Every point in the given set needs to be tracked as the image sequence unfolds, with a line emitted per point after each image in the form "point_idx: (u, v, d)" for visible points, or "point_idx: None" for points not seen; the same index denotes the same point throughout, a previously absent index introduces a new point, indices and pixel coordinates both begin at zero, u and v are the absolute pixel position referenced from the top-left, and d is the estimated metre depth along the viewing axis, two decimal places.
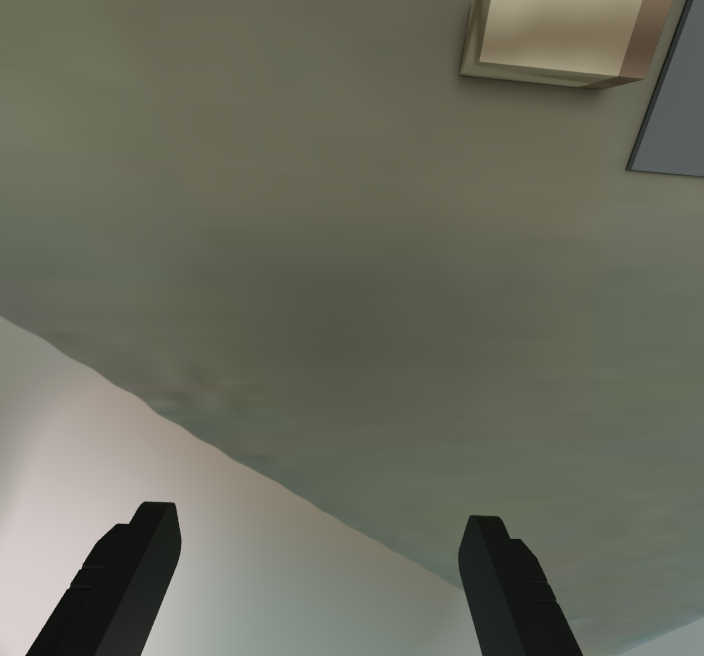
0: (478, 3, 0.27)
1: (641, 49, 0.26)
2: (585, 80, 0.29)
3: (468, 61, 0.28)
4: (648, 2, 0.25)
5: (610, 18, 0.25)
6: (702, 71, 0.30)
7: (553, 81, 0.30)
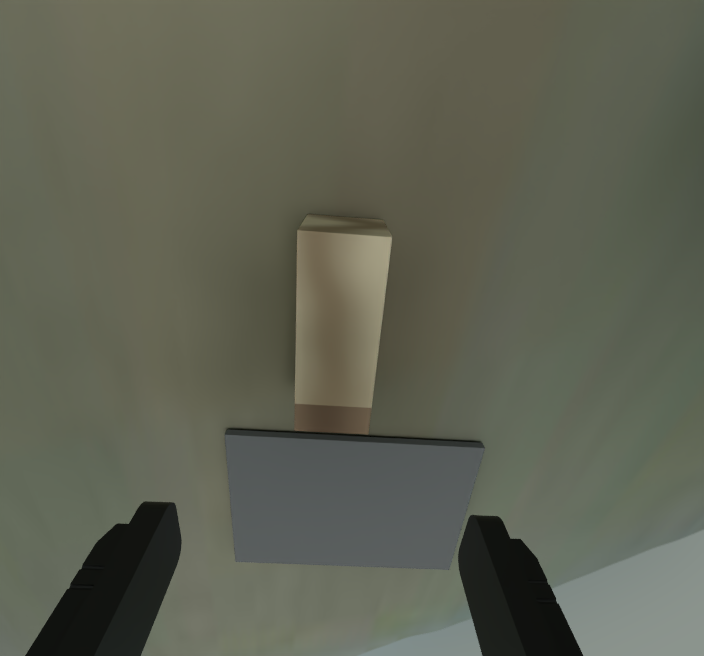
0: (377, 225, 0.21)
1: (322, 419, 0.23)
2: None
3: (313, 220, 0.20)
4: (364, 413, 0.22)
5: (350, 380, 0.21)
6: (322, 467, 0.30)
7: None
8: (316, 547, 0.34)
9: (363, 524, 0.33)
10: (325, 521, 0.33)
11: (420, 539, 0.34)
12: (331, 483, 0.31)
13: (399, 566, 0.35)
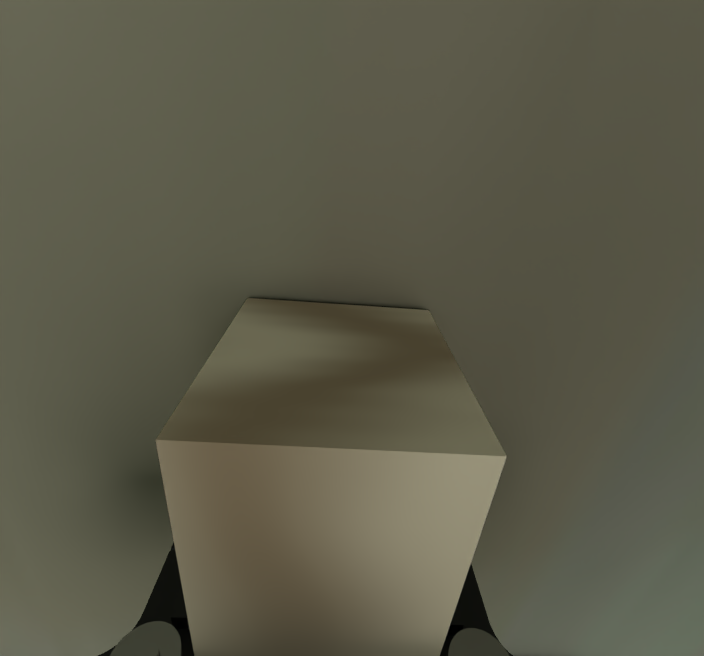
0: (424, 348, 0.08)
1: None
2: None
3: (249, 338, 0.07)
4: None
5: None
6: None
7: None
8: None
9: None
10: None
11: None
12: None
13: None
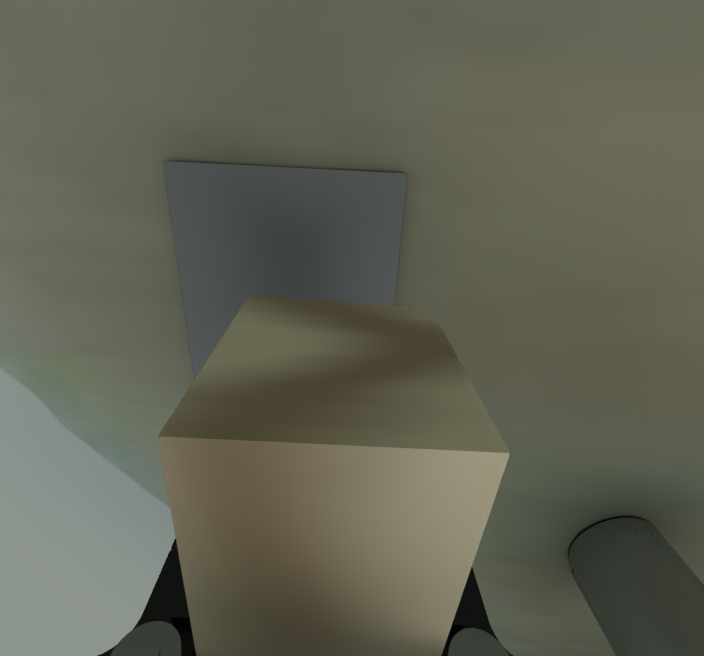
0: (426, 345, 0.08)
1: None
2: None
3: (251, 336, 0.07)
4: None
5: None
6: (355, 287, 0.26)
7: None
8: (215, 278, 0.26)
9: None
10: (266, 290, 0.26)
11: None
12: (331, 296, 0.27)
13: (196, 375, 0.29)
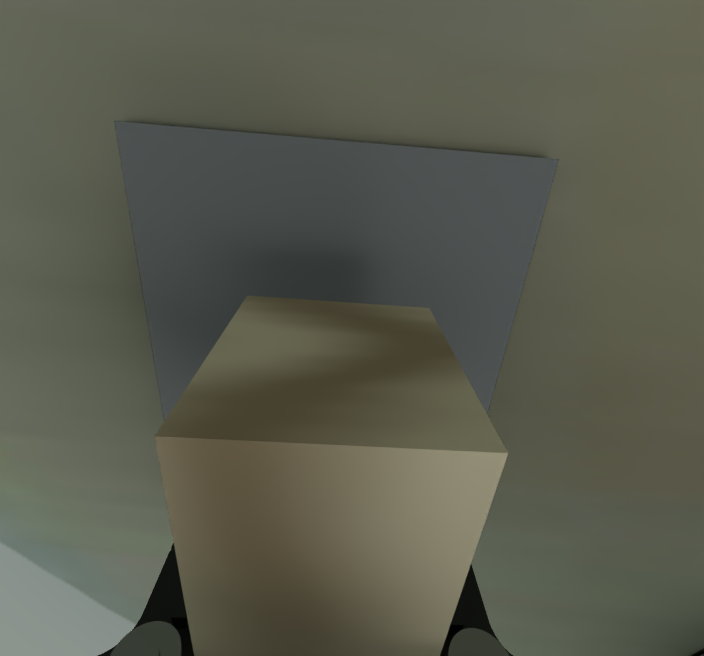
0: (425, 345, 0.08)
1: None
2: None
3: (249, 335, 0.07)
4: None
5: None
6: None
7: None
8: (209, 328, 0.16)
9: None
10: None
11: None
12: None
13: None
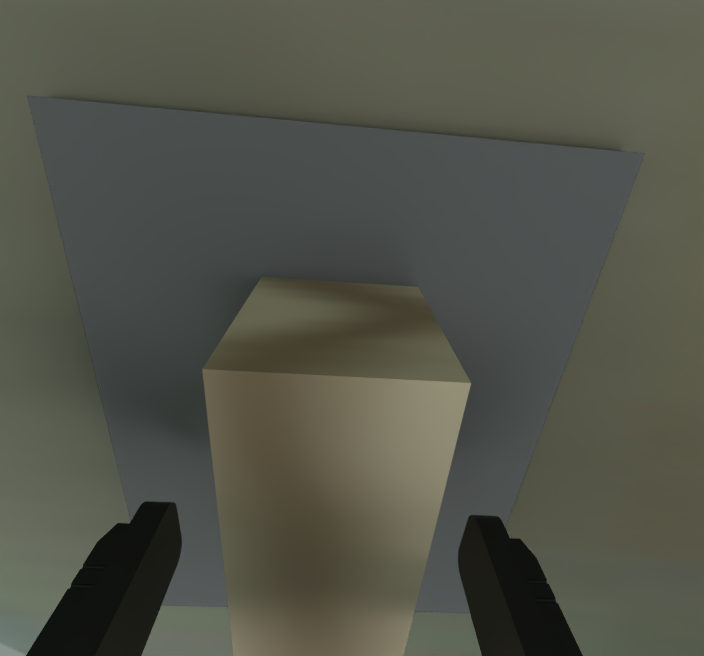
0: (412, 313, 0.09)
1: None
2: None
3: (266, 305, 0.09)
4: None
5: (353, 644, 0.10)
6: (470, 393, 0.13)
7: None
8: (173, 372, 0.12)
9: None
10: None
11: None
12: None
13: None
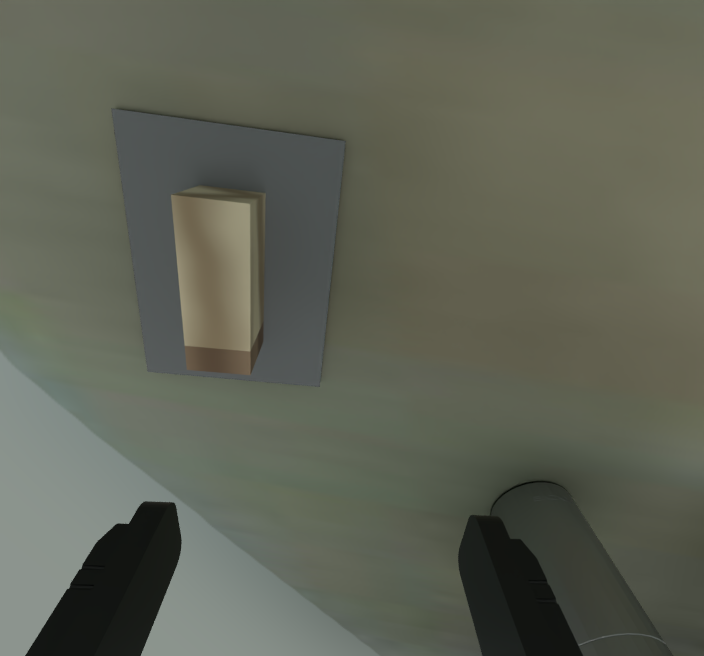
0: (251, 196, 0.25)
1: (209, 360, 0.27)
2: None
3: (197, 189, 0.24)
4: (245, 356, 0.27)
5: (229, 326, 0.26)
6: (296, 247, 0.28)
7: None
8: (162, 229, 0.27)
9: None
10: None
11: None
12: (272, 254, 0.28)
13: (143, 323, 0.31)
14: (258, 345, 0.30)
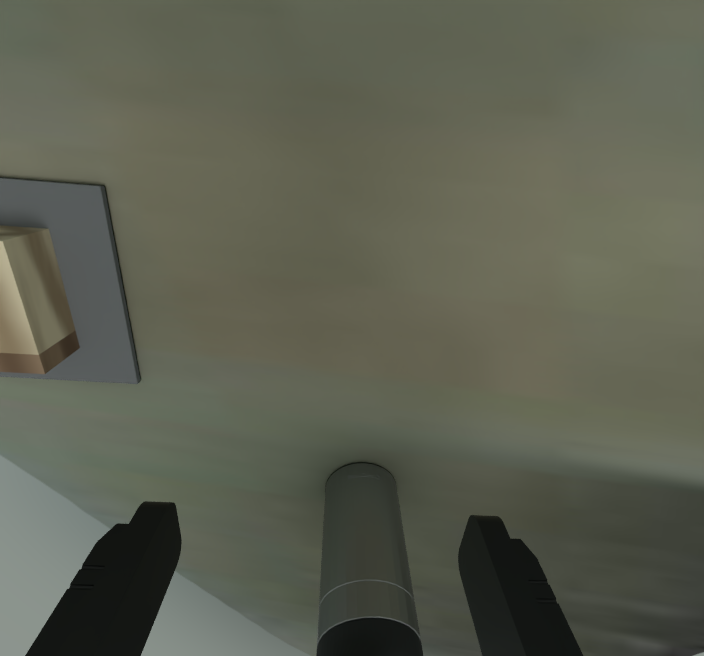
0: (24, 232, 0.32)
1: (8, 363, 0.33)
2: None
3: None
4: (35, 359, 0.33)
5: (16, 335, 0.32)
6: (84, 269, 0.35)
7: None
8: None
9: None
10: None
11: None
12: (67, 276, 0.35)
13: None
14: (64, 350, 0.36)
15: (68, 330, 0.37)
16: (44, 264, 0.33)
